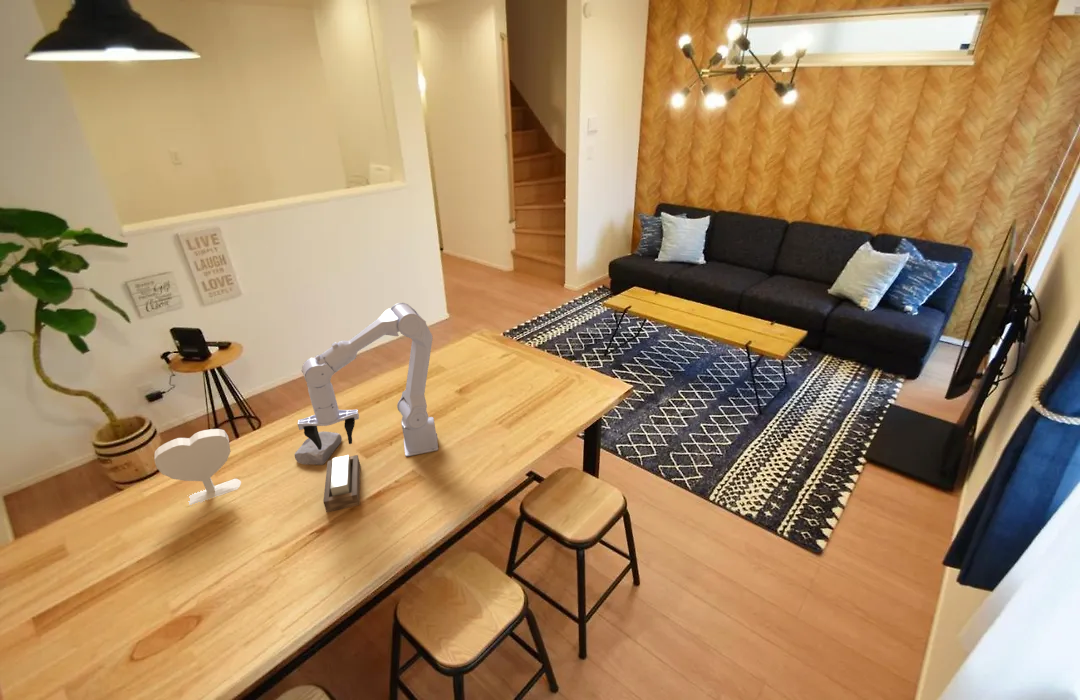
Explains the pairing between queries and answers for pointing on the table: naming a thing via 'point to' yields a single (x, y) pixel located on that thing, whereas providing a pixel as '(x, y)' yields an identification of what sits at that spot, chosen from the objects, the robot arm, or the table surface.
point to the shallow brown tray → (344, 499)
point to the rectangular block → (341, 476)
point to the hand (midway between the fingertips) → (335, 444)
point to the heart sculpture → (197, 462)
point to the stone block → (311, 453)
